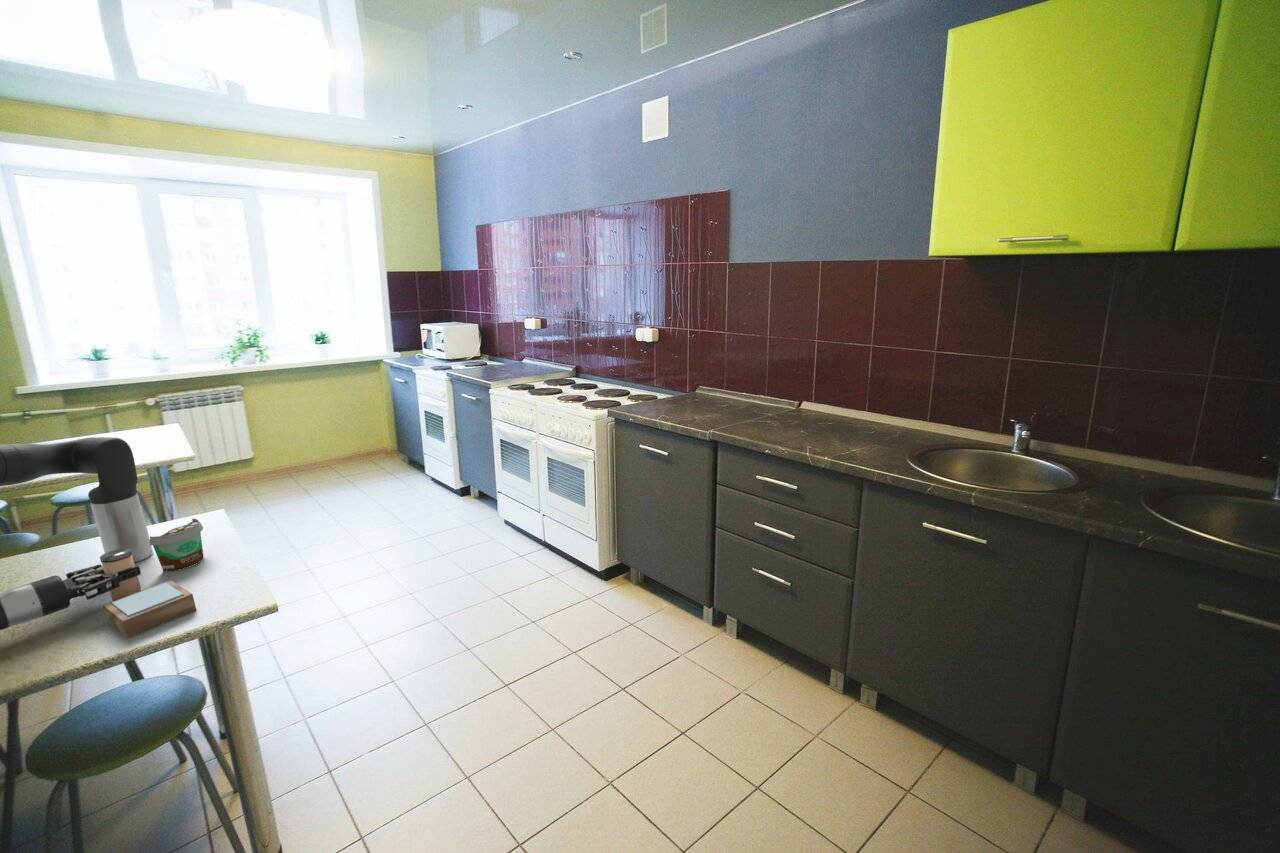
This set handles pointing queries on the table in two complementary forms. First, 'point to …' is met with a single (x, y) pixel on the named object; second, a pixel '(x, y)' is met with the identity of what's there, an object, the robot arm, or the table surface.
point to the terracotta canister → (119, 562)
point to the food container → (179, 546)
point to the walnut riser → (149, 608)
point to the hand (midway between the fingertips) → (134, 566)
